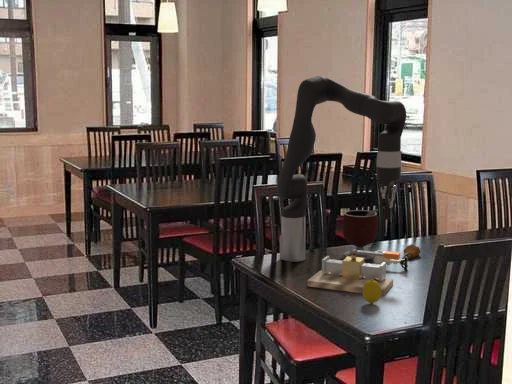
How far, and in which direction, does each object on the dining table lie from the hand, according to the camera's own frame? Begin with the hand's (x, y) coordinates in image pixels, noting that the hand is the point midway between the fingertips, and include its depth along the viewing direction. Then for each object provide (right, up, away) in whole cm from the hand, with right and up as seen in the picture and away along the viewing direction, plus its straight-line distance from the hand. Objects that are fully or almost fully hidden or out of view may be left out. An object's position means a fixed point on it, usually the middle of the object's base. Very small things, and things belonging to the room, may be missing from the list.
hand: (387, 219), depth 200 cm
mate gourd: (0, -17, +50) cm, 53 cm away
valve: (+7, -20, +30) cm, 37 cm away
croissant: (+20, -17, +48) cm, 55 cm away
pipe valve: (-8, -20, +15) cm, 27 cm away
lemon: (-6, -26, -6) cm, 28 cm away
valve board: (-10, -23, +12) cm, 28 cm away
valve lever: (-2, -13, +11) cm, 17 cm away
